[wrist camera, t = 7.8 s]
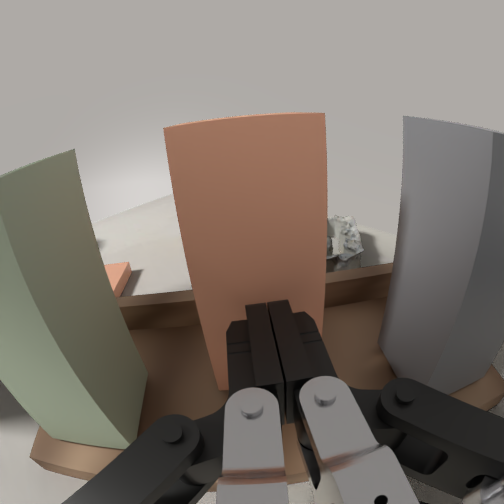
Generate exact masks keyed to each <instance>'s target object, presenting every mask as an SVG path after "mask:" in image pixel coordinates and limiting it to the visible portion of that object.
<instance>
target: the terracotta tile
mask: <svg viewBox="0 0 504 504" xmlns="http://www.w3.org/2000/svg"><path fill="white" fill-rule="evenodd" d="M104 267H105V270H106V273H107V275H108V278H109V281H110V284H111V287H112V289H113V292H114V295H115V297H120V296H121V294H122V292H123V289H124V287H125V285H126V283H127V281H128V279H129V277H130V275H131V273H132V271H131V268H130V264H129V262H124V263H116V264H108V265H104Z"/></svg>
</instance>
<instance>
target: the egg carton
mask: <svg viewBox="0 0 504 504" xmlns="http://www.w3.org/2000/svg"><path fill="white" fill-rule="evenodd" d="M330 237H335V238H336V239H338V240H339V252H340V253H342V254H341V255H340V256H339V255H334V254H333V255H332V252H333V247H332V239H331V238H330ZM362 251H364V249H363V247H362V242H361V238H360V234H359V231H358V229H357V225H356V221H355V218H354V217H353V216H346V217H339V216H336V215H335V216H334V218H327V256H326V273H329V272H336V271H342V270H349V269H356V268H360V260H361V256H360V253H361V252H362Z"/></svg>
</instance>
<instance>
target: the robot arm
mask: <svg viewBox="0 0 504 504" xmlns="http://www.w3.org/2000/svg"><path fill="white" fill-rule="evenodd" d="M245 309H246V317H247V319H246V320H238V321H232V322H231V323H230V325H229V327H228V329H227V331H226V344H227V365H228V384H229V395H228V398H227V400H226V402H225V404H224V405H223V406H222V407H221V408H220V409H219V410H218V411H216V412H214V413H213V414H210V415H208V416H205V417H202V418H199V419H196V420H192V419H190V418H189V417H187V416H184V415H179V414H171V415H166V416H163V417H161V418H159V419H158V420H156V421H155V422H154V423H153V424H152V425H151V426H150V427H149V428H148V429H146V430H145V431H144V432H143V433H142V434H141V435H140V436H139V437H138V438H137V439H136V440H135V441H134V442H132V443H131V444H130V445H129V446H128V447H127V448H126V449H125V450H124V451H123V452H121V453H120V454H119V455H118V456H117V457H116V458H115V459H114V460H113V461H111V462H110V463H109V464H108V465H107V466H106V467H105V468H103V469H102V470H101V471H100V472H99V473H98V474H97V475H95V476H94V477H93V478H92V479H91V480H90V481H88V482H87V483H86V484H85V485H84V486H82V487H81V488H80V489H79V490H78V491H76V492H75V493H74V494H73V495H72V496H70V497H69V498H68V499H67V500H66V501H64V502H63V503H62V504H196V503H197V502H198V501H199V500H200V499H201V498H202V497H203V496H204V494H205V493H206V492H207V491H208V490H209V489H210V488H211V487H212V485H213V484H214V483H215V482H216V481H217V480H218V483H217V493H216V504H289V499H288V488H287V479H286V473H285V465H284V455H283V444H282V425H285V418H286V423H287V424H291V423H294V424H295V428H296V432H297V446H298V449H299V452H300V455H301V458H302V461H303V464H304V467H305V470H306V473H307V476H308V479H309V482H310V485H311V489H312V492H313V499H314V504H428V503H424V502H421V501H418V500H417V498H416V496H415V494H414V492H413V490H412V488H411V486H410V484H409V482H408V480H407V478H406V476H405V474H406V475H408V476H410V477H412V478H414V479H416V480H418V481H421V482H423V483H425V484H427V485H430V486H432V487H434V488H436V489H439V490H441V491H444V492H446V493H448V494H451V495H454V496H456V497H459V498H461V499H463V502H462V504H504V418H502V417H500V416H497V415H495V414H492V413H490V412H487V411H485V410H482V409H480V408H478V407H475V406H473V405H470V404H468V403H466V402H463V401H461V400H458V399H456V398H454V397H452V396H449V395H447V394H445V393H442V392H440V391H438V390H436V389H433V388H431V387H429V386H427V385H424V384H422V383H420V382H418V381H416V380H413V379H410V378H396V379H393V380H391V381H389V382H388V383H387V384H386V385H385V386H384V387H383V389H382V390H366V389H356V388H353V387H350V386H348V385H347V384H346V383H345V382H343V381H342V380H340V379H339V378H338V376H337V374H336V372H335V369H334V367H333V364H332V362H331V359H330V357H329V354H328V352H327V350H326V347H325V345H324V342H323V341H322V337H321V335H320V332H319V330H318V328H317V325H316V323H315V320H314V319H313V318H312V317H311V316H310V315H308V314H307V313H306V312H305V311H303V312H296V313H293V312H292V309H291V306H290V303H289V301H288V299H286V300H278V301H271V302H267V306H266V302H264V303H257V304H249V305H245Z"/></svg>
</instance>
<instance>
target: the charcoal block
mask: <svg viewBox="0 0 504 504" xmlns="http://www.w3.org/2000/svg"><path fill="white" fill-rule="evenodd" d="M503 342H504V133H503V132H499V131H495V130H490V129H486V128H482V127H477V126H472V125H467V124H461V123H455V122H449V121H441V120H434V119H427V118H418V117H409V116H403V169H402V188H401V202H400V213H399V224H398V232H397V240H396V248H395V255H394V262H393V268H392V274H391V280H390V286H389V291H388V296H387V301H386V306H385V311H384V316H383V320H382V325H381V329H380V333H379V338H378V342H377V343H378V344H379V346H380V348H381V350H382V351H383V353H384V355H385V357H386V358H387V360H388V362H389V364H390V365H391V367H392V369H393V371H394V373H395V374H396V376H397V378H410V379H413V380H416V381H418V382H420V383H422V384H424V385H427V386H429V387H431V388H433V389H436V390H438V391H440V392H442V393H445V394H447V395H449V394H451V393H453V392H455V391H457V390H459V389H461V388H463V387H465V386H467V385H469V384H471V383H473V382H475V381H477V380H479V379H481V378H483V377H484V376H485V374H486V372H487V371H488V369H489V367H490V366H491V364H492V362H493V360H494V359H495V357H496V355H497V353H498V351H499V349H500V348H501V346H502V344H503Z"/></svg>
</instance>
